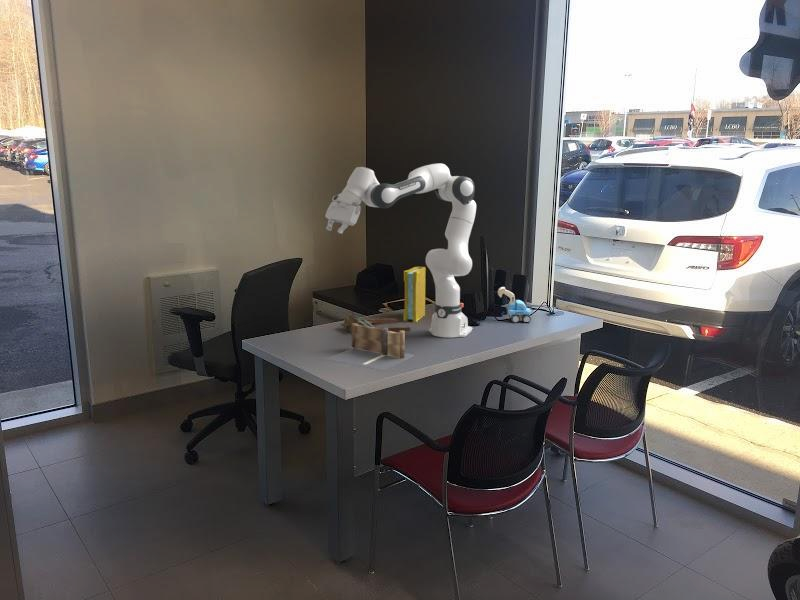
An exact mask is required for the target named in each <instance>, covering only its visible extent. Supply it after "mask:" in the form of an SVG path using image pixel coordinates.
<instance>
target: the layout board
mask: <svg viewBox="0 0 800 600" xmlns="http://www.w3.org/2000/svg"><path fill="white" fill-rule="evenodd" d="M415 356H416V354H411V353H406V352H405V358H400V357H395V356H389V355H382V353H378V352H372V351H366V350H361V349H355V348H353V347H352V348H349V349H347V350H344V351H342V352H340V353H337V354H335V355H332V356H330V357H327V358H325V360H327V361H332V362H337V363H342V364H347V365H352V366H358V367H363V368H367V369H374V370H378V371H382V372H384V371H387V370H388V369H389V370H390V369H391V368H393V367H395V366H397V365H399V364H402V363H403V362H405V361H407V360H409V359H411V358H413V357H415Z"/></svg>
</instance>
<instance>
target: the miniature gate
mask: <svg viewBox="0 0 800 600" xmlns="http://www.w3.org/2000/svg"><path fill="white" fill-rule="evenodd" d="M348 316H349V317H348V318H347V317H346V316H344V318H343V319H344V320H343V323H340V326H343V329H345V330H346V329H347V330H346V331H348V332H349V333H350V334H351V335H352V323H356V325H361V326H367V327H374V328H380V329H382V328H388V331H391V332H398V333H400V331H405V332H410V331H411V327H410V326H390V327H389V326H387V327H383V326H382V327H377V326H375V325H377V324H378V325H381V324H383V325H385V324H393V323H396V322H398V318H356V317H354V316H353V315H352V314H351V313H349V314H348ZM373 324H375V325H373Z"/></svg>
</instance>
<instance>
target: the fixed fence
mask: <svg viewBox="0 0 800 600" xmlns="http://www.w3.org/2000/svg"><path fill="white" fill-rule="evenodd" d="M405 334H406V331H400V332H391V331H388V328H382V355H389V356H395V357H400V358H405V353H406V352H405V351H406V350H405V349H406V348H405V345H406V343H405V340H406V337H405V336H406V335H405Z"/></svg>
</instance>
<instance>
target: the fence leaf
mask: <svg viewBox="0 0 800 600" xmlns="http://www.w3.org/2000/svg"><path fill="white" fill-rule="evenodd" d="M351 347H352V348H355V349H361V350H366V351H372V352H378V353H382V329H380V328H374V327H367V326H361V325H356V323H352V334H351Z"/></svg>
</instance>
